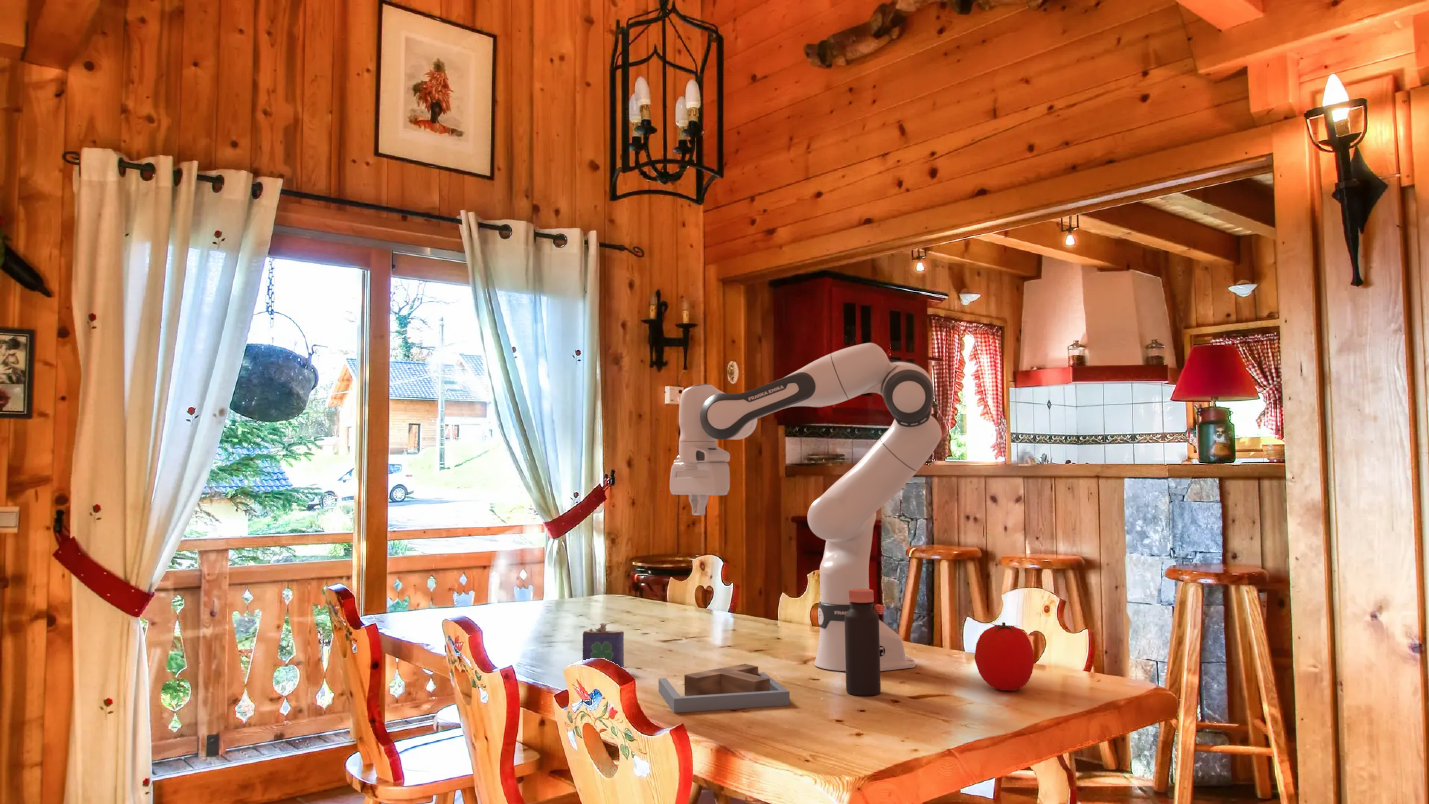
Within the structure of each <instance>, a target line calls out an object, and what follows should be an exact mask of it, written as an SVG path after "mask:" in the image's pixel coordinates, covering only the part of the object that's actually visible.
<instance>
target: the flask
mask: <svg viewBox="0 0 1429 804" xmlns="http://www.w3.org/2000/svg"><path fill="white" fill-rule="evenodd" d="M599 625H600V626H599V627H598V628H592V627H591V628H590V629H588V630H583V633H582V661H583V660H586V659H590V658H605V659H607V660H609V661H612V662H614V663H615V664H618V665H619V666H620V667H623V668H624V669H625V662H624V661H625V658H624V657H625V656H624V655H625V654H624V653H625V651H624V646H625V644H624V640H625V639H624V637H625V636H624V635H625V633H624V631H623V630H607V625H608V624H607V623H605V622H604V623H602V622H601V623H599Z"/></svg>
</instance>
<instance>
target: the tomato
mask: <svg viewBox="0 0 1429 804" xmlns="http://www.w3.org/2000/svg"><path fill="white" fill-rule="evenodd" d="M987 623H989V624H991V625H993V626H990V627H989V628H987V629H985V630H984V631H983V632H982V633H981V634H980V635H979V637H978V639H977V640H976V641H977V642H976V645H975V650H974V662H975V665H976V668H977V671H978V674H979V675H980V677H981V679H982V680H983V681H984V682H985V683H986V684H988V685H989V686H990V687H992V688H994V689H995V690H1002V691H1009V692H1013V691H1016V690H1019V689H1021V688H1023V687H1024V686H1025V685H1026V684H1027V683H1028V682H1029V680H1030V679H1031V677H1032V674H1033V670H1034V666H1035V657H1034V655H1035V654H1034V649H1033V646H1032V643H1031V640H1030V639H1029V637H1028V635H1027V634H1026V633H1025V632H1024V631H1023V630H1022V629H1021V628H1020V627H1019V628H1018V627H1017V626H1015V625H1006V622H1005V621H1003V622H1001V624H994V623H993V622H990V621H987Z"/></svg>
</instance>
